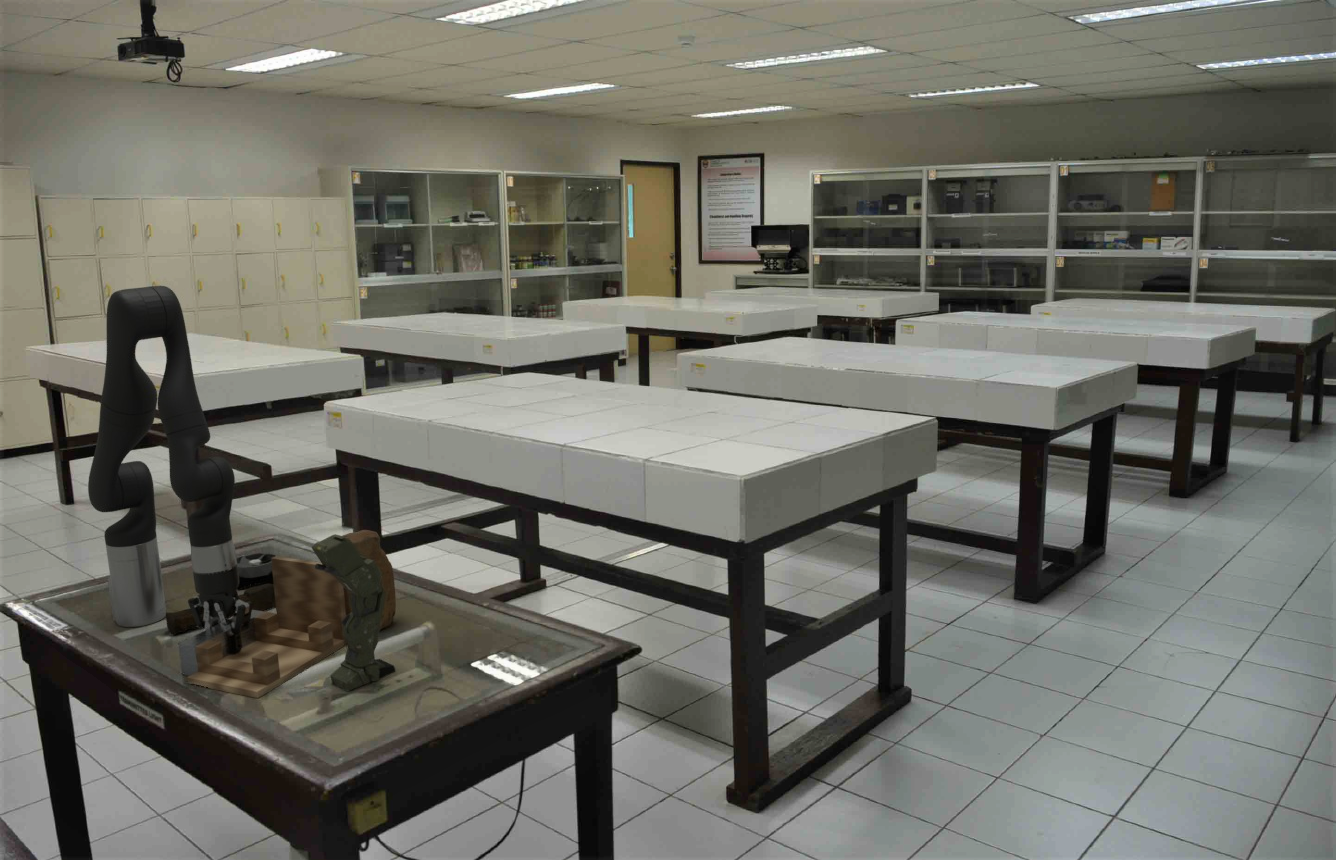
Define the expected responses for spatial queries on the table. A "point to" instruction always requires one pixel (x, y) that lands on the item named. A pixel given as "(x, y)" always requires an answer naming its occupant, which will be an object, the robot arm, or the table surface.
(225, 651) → the rail
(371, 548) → the brown rounded piece
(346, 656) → the mechanical leg
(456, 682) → the table surface
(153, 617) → the robot arm
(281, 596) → the post cradle
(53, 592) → the table surface
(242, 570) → the cpu cooler
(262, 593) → the dark brown bar
